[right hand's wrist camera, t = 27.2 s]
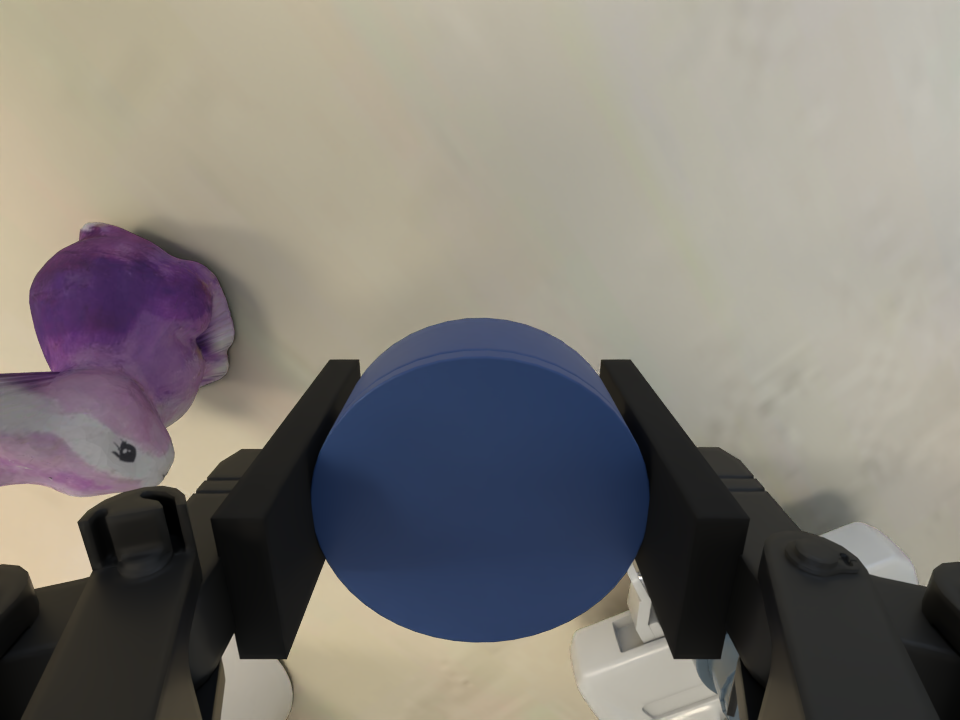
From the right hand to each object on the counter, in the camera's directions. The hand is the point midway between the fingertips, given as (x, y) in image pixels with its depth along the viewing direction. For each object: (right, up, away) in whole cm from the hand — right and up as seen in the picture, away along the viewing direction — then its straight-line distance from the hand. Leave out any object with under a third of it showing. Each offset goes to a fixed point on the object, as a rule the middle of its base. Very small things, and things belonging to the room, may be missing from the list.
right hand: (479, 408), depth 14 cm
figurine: (-18, +4, +18) cm, 26 cm away
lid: (0, -1, -4) cm, 4 cm away
